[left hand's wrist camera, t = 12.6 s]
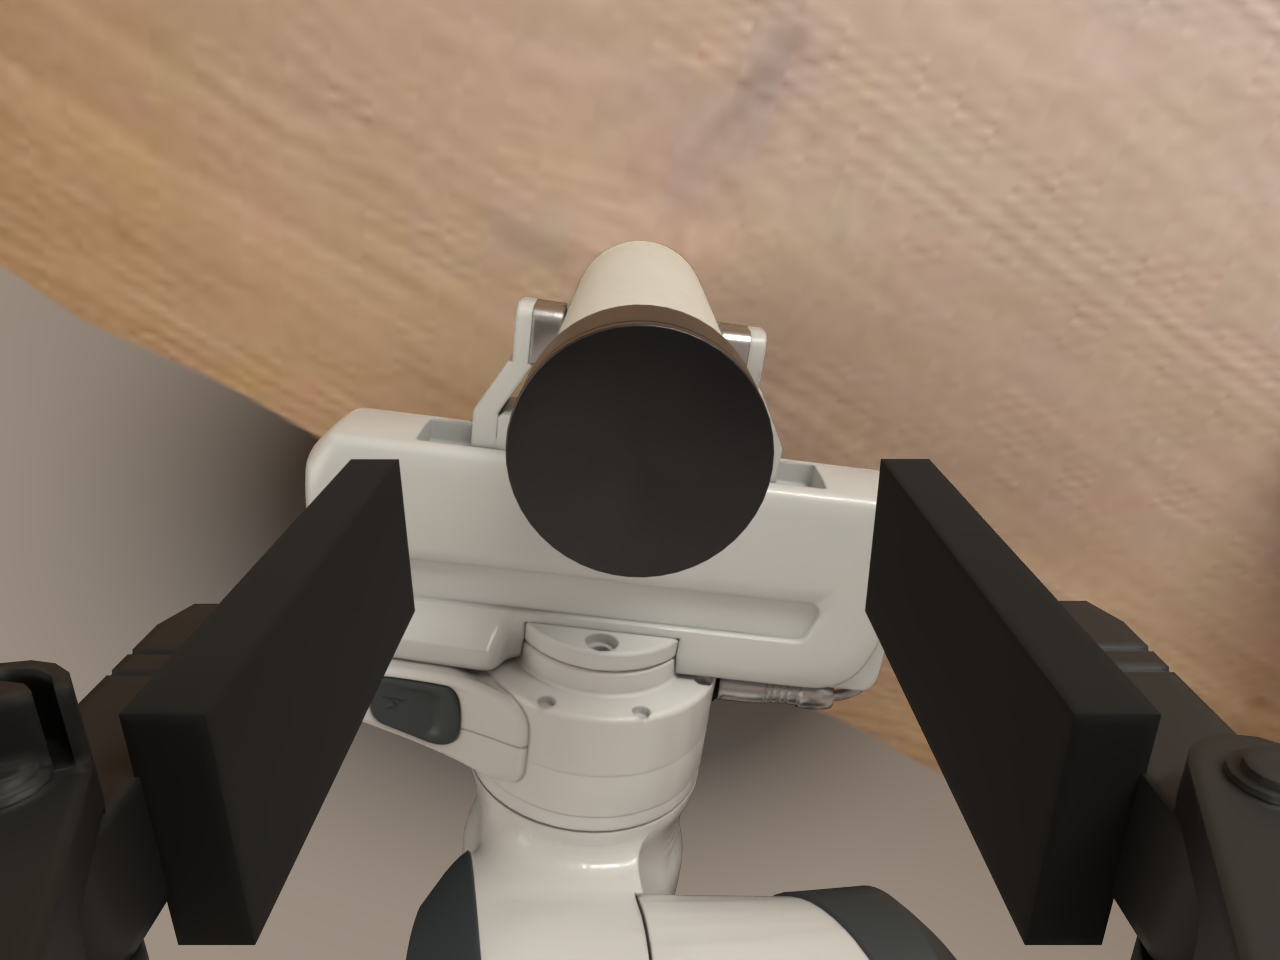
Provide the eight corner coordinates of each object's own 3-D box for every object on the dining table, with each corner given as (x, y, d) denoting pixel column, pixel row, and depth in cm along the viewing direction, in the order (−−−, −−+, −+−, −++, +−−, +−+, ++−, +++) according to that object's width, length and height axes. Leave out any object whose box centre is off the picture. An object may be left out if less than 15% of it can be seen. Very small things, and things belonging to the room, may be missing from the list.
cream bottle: (728, 290, 34) (808, 423, 18) (654, 392, 35) (667, 598, 19) (623, 214, 33) (608, 281, 17) (551, 321, 34) (474, 478, 18)
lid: (809, 396, 19) (830, 427, 17) (666, 574, 21) (669, 622, 19) (608, 252, 18) (604, 267, 16) (474, 452, 20) (455, 488, 18)
